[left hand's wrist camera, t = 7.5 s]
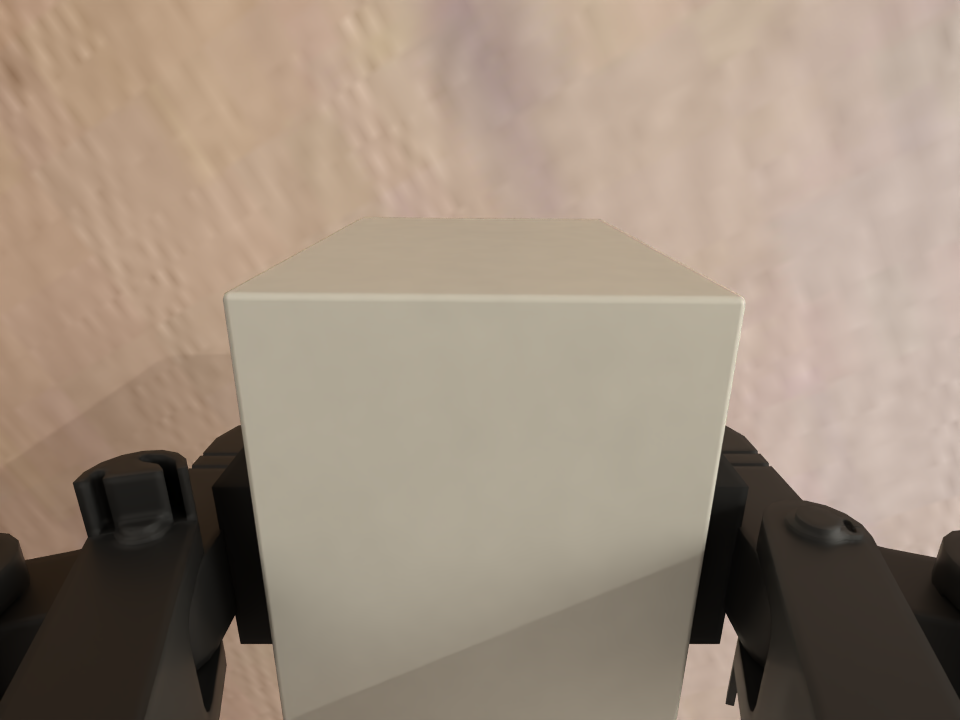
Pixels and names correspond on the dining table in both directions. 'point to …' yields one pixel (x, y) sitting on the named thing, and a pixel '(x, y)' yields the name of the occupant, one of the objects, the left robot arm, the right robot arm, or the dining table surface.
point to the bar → (482, 466)
